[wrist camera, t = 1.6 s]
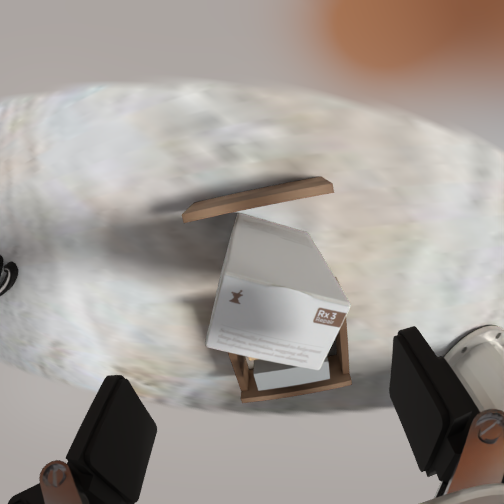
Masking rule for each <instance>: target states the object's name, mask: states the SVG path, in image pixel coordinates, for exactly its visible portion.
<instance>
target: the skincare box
mask: <svg viewBox="0 0 504 504" xmlns="http://www.w3.org/2000/svg"><path fill="white" fill-rule="evenodd" d="M350 307H351V304H350V302H349V300H348V298H347V297H346V295H345V293H344V292H343V290H342V288H341V286H340V285H339V283H338V281H337V280H336V278H335V276H334V275H333V273H332V271H331V269H330V268H329V266H328V264H327V263H326V261H325V259H324V258H323V256H322V254H321V253H320V251H319V249H318V248H317V246H316V245H315V243H314V241H313V240H312V238H311V236H310V235H309V233H307V232H304V231H301V230H297V229H294V228H291V227H287V226H284V225H280V224H277V223H274V222H270V221H267V220H263V219H260V218H256V217H253V216H249V215H246V214H242V213H238V214H237V216H236V219H235V223H234V226H233V230H232V233H231V237H230V240H229V244H228V248H227V252H226V256H225V259H224V263H223V266H222V270H221V275H220V279H219V284H218V288H217V293H216V297H215V302H214V306H213V310H212V315H211V320H210V325H209V328H208V332H207V336H206V341H205V345H206V347H208V348H212V349H216V350H221V351H225V352H229V353H234V354H238V355H243V356H247V357H252V358H256V359H261V360H266V361H271V362H276V363H281V364H286V365H292V366H297V367H302V368H308V369H313V370H320V368H321V366H322V364H323V362H324V360H325V358H326V356H327V354H328V352H329V350H330V348H331V346H332V344H333V342H334V340H335V338H336V336H337V334H338V332H339V330H340V328H341V326H342V324H343V321H344V319H345V317H346V315H347V313H348V311H349V309H350Z"/></svg>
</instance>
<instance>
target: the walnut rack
mask: <svg viewBox="0 0 504 504" xmlns="http://www.w3.org/2000/svg"><path fill="white" fill-rule="evenodd" d="M329 193H334V190H333V184H332V183H331V182H329V181H328V180H326V179H324V178H323V177H316V178H310V179H305V180H299V181H294V182H289V183H283V184H278V185H273V186H268V187H263V188H258V189H254V190H249V191H244V192H239V193H235V194H230V195H226V196H221V197H217V198H212V199H208V200H204V201H199V202H195V203H193V204H192V205H191V206H190V207H189V208H188V209H187V210H186V211H185V212H184V213H183V214H182V218H183V222H184V223H187V222H191V221H195V220H200V219H204V218H209V217H213V216H218V215H223V214H227V213H232V212H237V211H241V210H246V209H251V208H256V207H261V206H266V205H271V204H276V203H281V202H286V201H291V200H296V199H301V198H307V197H312V196H318V195H323V194H329ZM335 278H336V277H335ZM336 280H337V278H336ZM337 281H338V280H337ZM338 283H339V282H338ZM339 285H340V284H339ZM336 349H337V355H332V356H328V357H327V358H328V363H329V373H330V379H326V380H321V381H316V382H311V383H305V384H300V385H294V386H288V387H281V388H274V389H267V390H260V391H258V387H257V384H256V381H255V378H254V374H253V373H254V369H252V370H249V368H248V365H247V362H246V358H245V356H243V355H238V354H234V353H229V352H228V354H229V357H230V360H231V363H232V366H233V369H234V372H235V375H236V378H237V380H238V383H239V386H240V389H241V401H242V403H248V402H256V401H264V400H272V399H279V398H285V397H292V396H298V395H304V394H309V393H315V392H320V391H325V390H330V389H335V388H340V387H344V386H349V385H352V380H351V377H350V374H349V355H348V338H347V323H346V317H345V319H344V321H343V324H342V326H341V328H340V330H339V332H338V334H337V336H336Z"/></svg>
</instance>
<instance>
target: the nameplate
mask: <svg viewBox="0 0 504 504" xmlns="http://www.w3.org/2000/svg"><path fill="white" fill-rule="evenodd" d="M2 268H3V258H2V256H1V255H0V276H1V272H2ZM4 272H6V273H7V274H6V277H5V279H4V281H3V282H2V284H1V285H0V296H1V295H3V294H4V293H5V292H7V291H8V290H9V289H10V288H11V287H12V286H13V284H14V283H15V281H16V279H17V276H18V268H17V266H16V264H15V263H14V262H9V263H8V264H6V265H5V266H4Z"/></svg>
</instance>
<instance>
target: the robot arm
mask: <svg viewBox="0 0 504 504" xmlns="http://www.w3.org/2000/svg"><path fill="white" fill-rule="evenodd" d="M389 391H390V397H391V400H392V402H393V405H394V407H395V409H396V412H397V414H398V416H399V419H400V421H401V424H402V426H403V428H404V431H405V433H406V436H407V438H408V441H409V443H410V446H411V448H412V451H413V453H414V456H415V458H416V461H417V464H418V467H419V469H420V471H421V472H423V471H426V474H427V476H428V477H430V476H432V475H434V474H437V476H438V478H439V480H440V481H441V483H440V486H439V488H438V490H437V492H436V495H435V497H434V499H432V500H429V501H426V502H423V503H420V504H504V330H503V329H502V328H501V327H498V326H486V327H483V328H480V329H478V330H476V331H474V332H472V333H470V334H469V335H467V336H466V337H464V338H463V339H462V340H460V341H459V342H458V343H457V344H456V345H455V346H454V347H453V348H452V349H451V350H450V351H449V352H448V353H447V354H446V355H445V357H437V356H436V355H435V353H434V352H433V350H432V349H431V347H430V346H429V345H428V343H427V342H426V340H425V339H424V337H423V336H422V335H421V333H420V332H419V330H418V329H417V328H416V327H415V326H413V327H410V328H406V329H403V330H400V331H399V332H398V335H397V336H394V339H393V354H392V367H391V379H390V389H389ZM156 433H157V426H156V424H155V422H154V420H153V419H152V418H151V416H150V414H149V413H148V411H147V410H146V408H145V407H144V405H143V404H142V402H141V400H140V399H139V397H138V396H137V394H136V392H135V391H134V389H133V387H132V386H131V384H130V382H129V381H128V380H127V379H125V378H124V377H123V376H122V375H111V376H107V377H106V378H105V379H104V381H103V383H102V385H101V387H100V389H99V391H98V393H97V395H96V397H95V399H94V401H93V403H92V404H91V406H90V408H89V410H88V412H87V415H86V416H85V418H84V420H83V422H82V424H81V426H80V429H79V431H78V433H77V435H76V437H75V439H74V441H73V443H72V445H71V447H70V449H69V452H68V454H67V456H66V459H67V460H68V463H67V464H66V463H65V462H63V461H60V460H56V461H52V462H50V463H48V464H46V466H45V467H44V468H43V469H42V471H41V473H40V477H39V478H40V483H39V484H37V485H35V486H33V487H31V488H29V489H27V490H25V491H23V492H21V493H19V494H17V495H15V496H13V497H12V498H11V499H10V500H9V502H8V504H134V503H135V502H137V501H138V499H139V496H140V492H141V488H142V484H143V480H144V477H145V473H146V469H147V465H148V462H149V458H150V455H151V451H152V447H153V444H154V440H155V436H156Z"/></svg>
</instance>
